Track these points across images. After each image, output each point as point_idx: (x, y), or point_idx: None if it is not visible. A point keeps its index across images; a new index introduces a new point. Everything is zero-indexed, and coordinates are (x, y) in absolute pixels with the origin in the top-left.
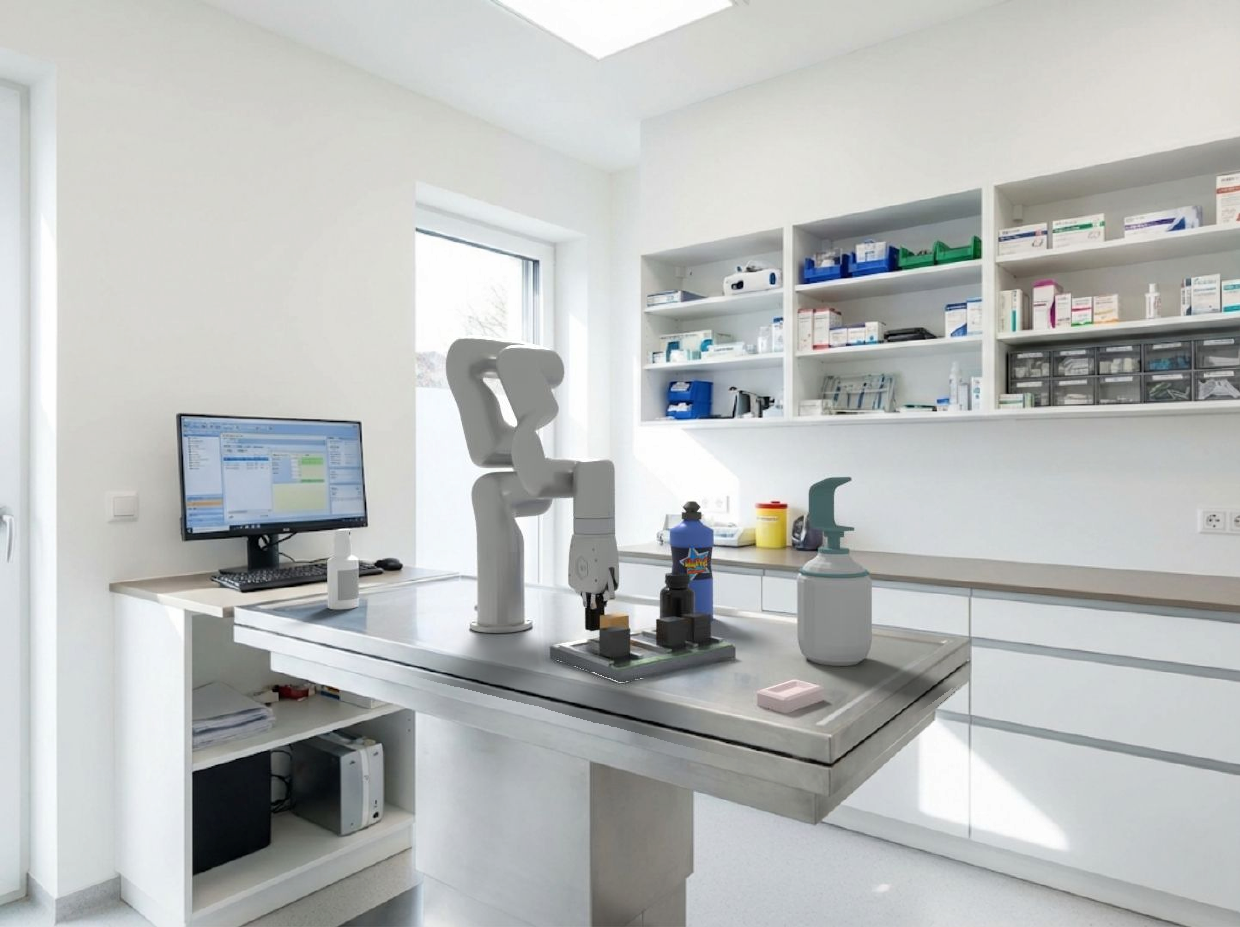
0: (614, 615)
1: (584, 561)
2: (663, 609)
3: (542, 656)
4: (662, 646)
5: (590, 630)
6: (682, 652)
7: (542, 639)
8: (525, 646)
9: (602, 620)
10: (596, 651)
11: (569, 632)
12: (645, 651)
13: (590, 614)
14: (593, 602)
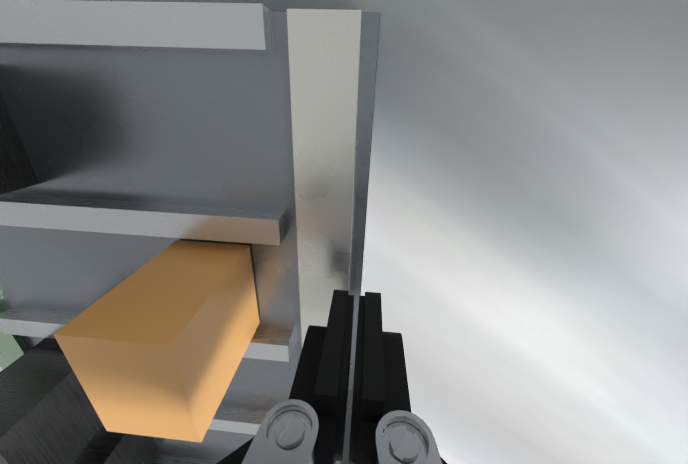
0: (131, 393)
1: None
2: None
3: (436, 14)
4: None
5: (334, 289)
6: (2, 342)
7: (683, 227)
8: (682, 72)
9: (162, 321)
10: (142, 154)
11: (641, 360)
12: (76, 291)
13: (321, 360)
14: (265, 461)
